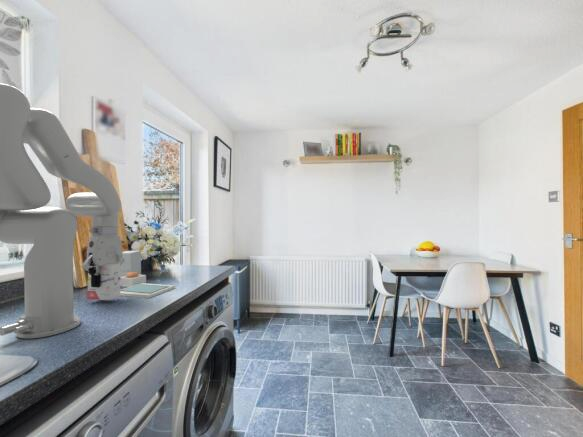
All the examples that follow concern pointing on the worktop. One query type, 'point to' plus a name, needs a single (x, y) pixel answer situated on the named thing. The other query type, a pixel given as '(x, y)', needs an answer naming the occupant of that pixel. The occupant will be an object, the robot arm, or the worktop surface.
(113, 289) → the ink cartridge box
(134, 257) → the supplement box
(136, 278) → the button housing
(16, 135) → the robot arm
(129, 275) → the button
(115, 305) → the worktop surface
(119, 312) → the worktop surface
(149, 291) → the picture board
